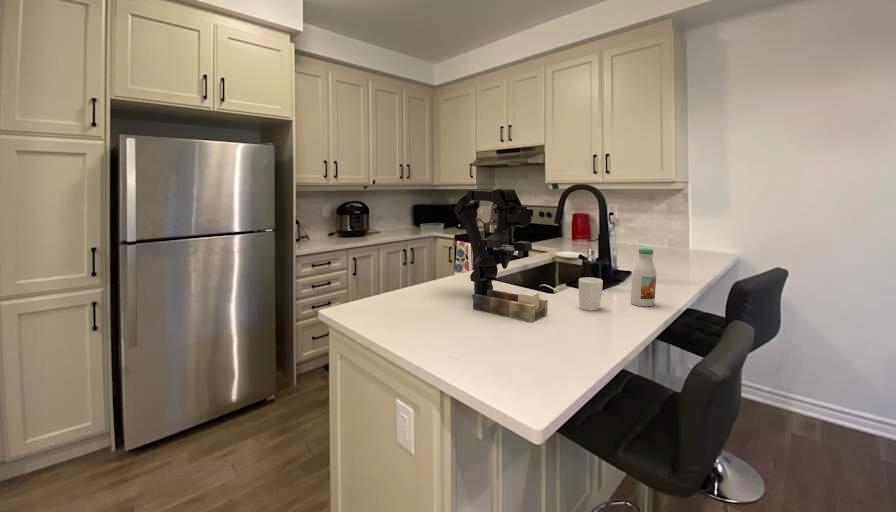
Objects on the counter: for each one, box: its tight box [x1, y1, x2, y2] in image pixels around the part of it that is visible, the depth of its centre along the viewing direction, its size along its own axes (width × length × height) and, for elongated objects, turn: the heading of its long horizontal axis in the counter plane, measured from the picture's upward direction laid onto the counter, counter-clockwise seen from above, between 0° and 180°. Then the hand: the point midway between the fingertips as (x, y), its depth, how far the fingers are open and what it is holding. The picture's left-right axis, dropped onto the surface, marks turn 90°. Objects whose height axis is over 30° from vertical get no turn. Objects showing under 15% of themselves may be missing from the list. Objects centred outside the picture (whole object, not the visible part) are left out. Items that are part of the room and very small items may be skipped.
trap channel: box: [472, 289, 549, 323], centre depth 142 cm, size 23×10×5 cm, turn 51°
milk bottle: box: [630, 247, 657, 308], centre depth 148 cm, size 8×8×20 cm
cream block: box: [517, 290, 540, 310], centre depth 137 cm, size 5×5×5 cm
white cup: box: [578, 277, 604, 311], centre depth 145 cm, size 8×8×10 cm
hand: (504, 268), depth 150 cm, fingers closed
